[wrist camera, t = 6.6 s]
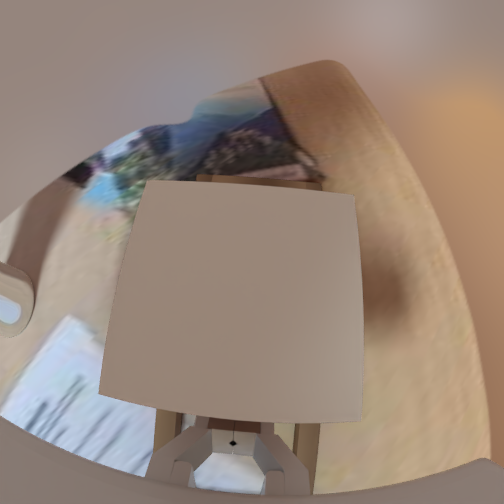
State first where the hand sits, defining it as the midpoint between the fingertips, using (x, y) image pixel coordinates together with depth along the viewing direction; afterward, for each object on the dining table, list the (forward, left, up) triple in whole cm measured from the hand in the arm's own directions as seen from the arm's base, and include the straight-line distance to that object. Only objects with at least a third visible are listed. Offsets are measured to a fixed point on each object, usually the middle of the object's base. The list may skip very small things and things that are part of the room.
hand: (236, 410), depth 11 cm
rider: (0, +3, -6) cm, 7 cm away
